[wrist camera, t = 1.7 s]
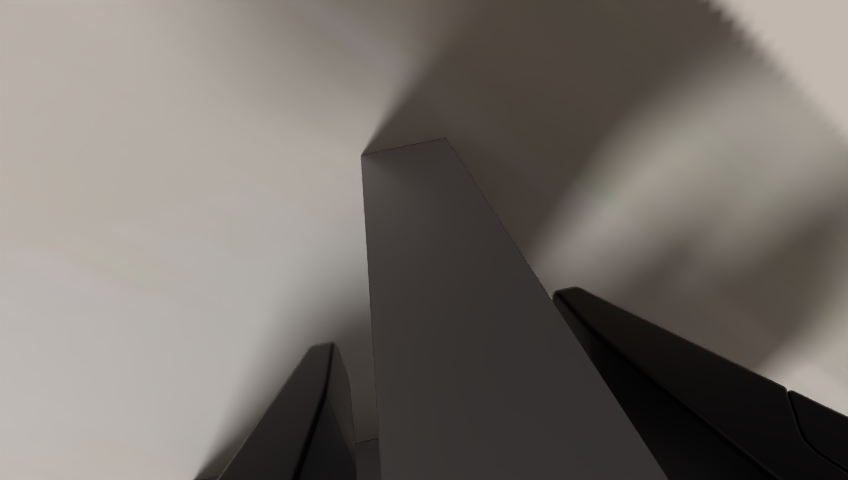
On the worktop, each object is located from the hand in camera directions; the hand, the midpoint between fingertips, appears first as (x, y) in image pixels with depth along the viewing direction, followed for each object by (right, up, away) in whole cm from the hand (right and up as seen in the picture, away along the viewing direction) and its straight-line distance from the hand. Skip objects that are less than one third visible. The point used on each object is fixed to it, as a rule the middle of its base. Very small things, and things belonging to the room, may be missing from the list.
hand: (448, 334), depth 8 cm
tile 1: (0, +1, +3) cm, 3 cm away
